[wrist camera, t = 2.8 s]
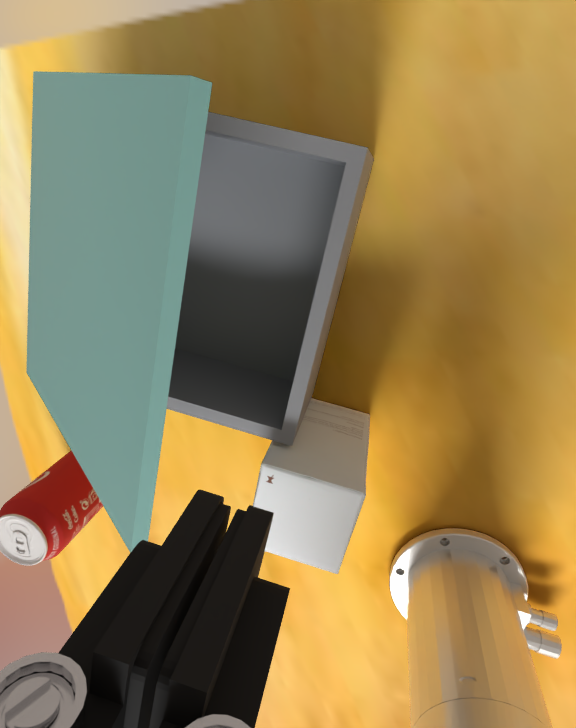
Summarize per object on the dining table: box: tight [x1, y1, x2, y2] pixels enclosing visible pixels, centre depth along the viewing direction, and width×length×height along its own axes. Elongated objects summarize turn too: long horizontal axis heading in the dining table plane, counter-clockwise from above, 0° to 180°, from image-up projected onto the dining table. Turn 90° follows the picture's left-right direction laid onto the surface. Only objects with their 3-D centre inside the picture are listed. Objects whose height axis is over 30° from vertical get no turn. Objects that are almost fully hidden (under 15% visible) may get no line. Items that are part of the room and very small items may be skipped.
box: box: [166, 112, 374, 446], centre depth 37 cm, size 20×20×10 cm
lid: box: [27, 72, 212, 553], centre depth 26 cm, size 20×20×1 cm
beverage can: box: [0, 450, 103, 565], centre depth 46 cm, size 6×6×12 cm
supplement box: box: [253, 398, 370, 574], centre depth 40 cm, size 7×7×13 cm
